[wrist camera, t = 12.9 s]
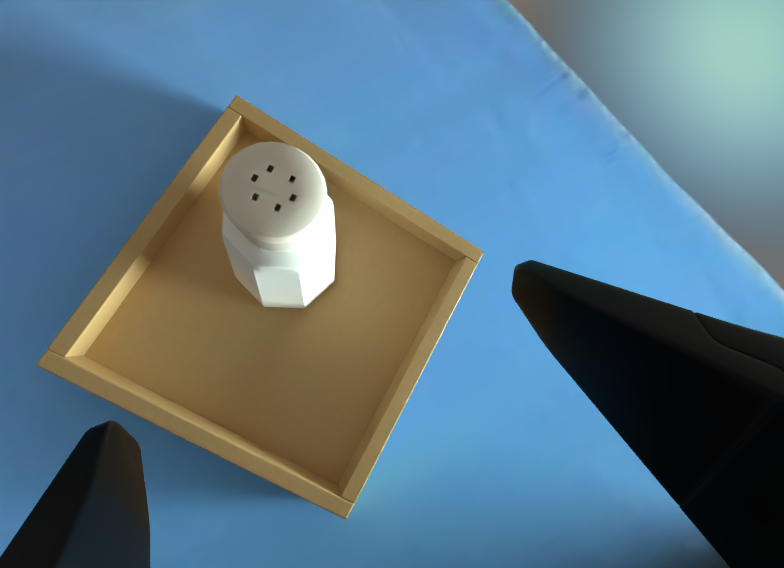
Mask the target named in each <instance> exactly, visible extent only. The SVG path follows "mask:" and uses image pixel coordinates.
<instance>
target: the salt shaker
mask: <svg viewBox="0 0 784 568" xmlns="http://www.w3.org/2000/svg"><path fill="white" fill-rule="evenodd" d="M219 196H220V201H221V206H222V208H223V210H224V211H223V223H222V236H223V241H224V244H225V247H226V250H227V253H228V256H229V259H230V262H231V265H232V268H233V271H234V274H235V277H236V278H237V279H238V280H239V281H240V282H241V283H242V284H243V285H244V286H245V288H246V289H247V290H248V291H249V292H250V293H251V294H252V295H253V296H254V297H255V298H256V299H257V300H258V301H259V302H260V303H261V305H262V306H263V307H283V308H306V307H307V306H308V305H309V304H310V303H311V302H313V301H314V300H315V299H316V298H317V297H318V296H319V295H320V294H322V293H323V292H324V291H325V290H326V289H327V288H328V287H329V286H330V285H332V284H333V283H334V277H335V254H336V237H335V220H334V206H333V202H332V200H331V198H330V197H329V196H328V195H327V188H326V183H325V179H324V176H323V174H322V172H321V171H320V169H319V167H318V165H317V164H316V163H315V162H314V161H313V160H312V159H311V157H310V156H309V155H307V154H306V153H304V152H303V151H301V150H300V149H298V148H296V147H293V146H291V145H288V144H285V143H279V142H262V143H256V144H253V145H251V146H248V147H245V148H243V149H242V150H241V151H239V152H238V153H237V154H235V155H234V156H233V157H232V158H231V159H230V161H229V162H228V163H227V164H226V166H225V167H224V170H223V172H222V175H221V177H220V183H219Z"/></svg>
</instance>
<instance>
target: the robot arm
mask: <svg viewBox="0 0 784 568" xmlns="http://www.w3.org/2000/svg"><path fill="white" fill-rule="evenodd" d="M512 295H513V298H514V300H515V301H516V303H517V304H518V306H519V307H520V309H521V310H522V312H523V313H524V315H525V316H526V318H527V319H528V321H529V322H530V324H531V325H532V327H533V328H534V330H535V331H536V333H537V334H538V336H539V337H540V339H541V340H542V341H543V343H544V344H545V346H546V347H547V348H548V350H549V351H550V352H551V353H552V355H553V356H554V357H555V358H556V359H557V361H558V362H559V363H560V364H561V365H562V367H563V368H564V369H565V370H566V371H567V373H568V374H569V375H570V376H571V377H572V379H573V380H574V381H575V382H576V383H577V385H578V386H579V387H580V388H581V389H582V391H583V392H584V393H585V394H586V395H587V396H588V398H589V399H590V400H591V401H592V402H593V404H594V405H595V406H596V407H597V408H598V410H599V411H600V412H601V413H602V414H603V416H604V417H605V418H606V419H607V420H608V422H609V423H610V424H611V425H612V426H613V428H614V429H615V430H616V431H617V432H618V434H619V435H620V436H621V437H622V438H623V440H624V441H625V442H626V443H627V444H628V446H629V447H630V448H631V449H632V450H633V452H634V453H635V454H636V455H637V456H638V458H639V459H640V460H641V461H642V462H643V463H644V465H645V466H646V467H647V468H648V469H649V471H650V472H651V473H652V474H653V475H654V477H655V478H656V479H657V480H658V481H659V483H660V484H661V485H662V486H663V487H664V489H665V490H666V491H667V492H668V493H669V495H670V496H671V497H672V498H673V499H674V501H675V502H676V503H677V504H678V505H679V507H680V508H681V509H682V511H683V512H684V513H685V514H686V515H687V517H688V518H689V519H690V520H691V521H692V523H693V524H694V525H695V526H696V527H697V528H698V530H699V531H700V532H701V533H702V534H703V536H704V537H705V538H706V539H707V540H708V542H709V543H710V544H711V545H712V546H713V548H714V549H715V550H716V551H717V552H718V554H719V555H720V556H721V557H722V558H723V560H724V561H725V562H726V563H727V564H728V566H729V567H730V568H784V338H783V337H779V336H775V335H771V334H768V333H764V332H760V331H757V330H753V329H749V328H746V327H742V326H739V325H736V324H732V323H729V322H726V321H722V320H719V319H716V318H713V317H710V316H707V315H703V314H700V313H697V312H696V313H694V312H693V311H691V310H687V309H684V308H681V307H678V306H675V305H672V304H669V303H665V302H662V301H659V300H656V299H653V298H650V297H647V296H644V295H640V294H637V293H634V292H631V291H628V290H625V289H622V288H618V287H615V286H612V285H609V284H606V283H603V282H600V281H596V280H593V279H590V278H587V277H584V276H581V275H578V274H575V273H571V272H568V271H565V270H562V269H559V268H556V267H553V266H549V265H546V264H543V263H540V262H537V261H533V260H529V261H526V262H523V263H521V264H518V265H517V266H516V267H515V269H514V275H513V283H512ZM0 568H150V524H149V513H148V505H147V497H146V489H145V481H144V473H143V465H142V457H141V450H140V446H139V444H138V442H137V441H136V440H135V439H134V438H133V437H132V436H131V435H130V434H129V433H128V432H127V431H126V430H125V429H124V428H123V427H122V426H121V425H120V424H118V423H117V422H115V421H108V422H105V423H102V424H100V425H97V426H95V427H92V428H90V429H89V430H87V431H86V432H85V434H84V435H83V437H82V438H81V439H80V441H79V442H78V444H77V445H76V447H75V448H74V450H73V451H72V453H71V454H70V456H69V457H68V459H67V460H66V461H65V463H64V464H63V466H62V467H61V469H60V470H59V472H58V473H57V475H56V476H55V478H54V479H53V481H52V482H51V484H50V485H49V486H48V488H47V489H46V491H45V492H44V494H43V495H42V497H41V498H40V500H39V501H38V503H37V504H36V506H35V507H34V508H33V510H32V511H31V513H30V514H29V516H28V517H27V519H26V520H25V522H24V523H23V525H22V526H21V528H20V529H19V531H18V532H17V533H16V535H15V536H14V538H13V539H12V541H11V542H10V544H9V545H8V547H7V548H6V550H5V551H4V553H3V554H2V555H1V557H0Z"/></svg>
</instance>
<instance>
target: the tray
mask: <svg viewBox="0 0 784 568" xmlns="http://www.w3.org/2000/svg"><path fill="white" fill-rule="evenodd" d="M262 142H279V143H285V144H288V145H291V146H293V147H296V148H298V149H300V150H301V151H303V152H304V153H306V154H307V155H309V156H310V157H311V159H312V160H313V161H314V162H315V163H316V164H317V165H318V167H319V169H320V171H321V172H322V174H323V176H324V179H325V183H326V188H327V195H328V196H329V197H330V198H331V200H332V202H333V206H334V220H335V237H336V254H335V277H334V283H333V284H332V285H330V286H329V287H328V288H327V289H326V290H325V291H324V292H323V293H322V294H320V295H319V296H318V297H317V298H316V299H315V300H314V301H313V302H311V303H310V304H309V305H308V306H307V307H306V308H283V307H263V306H262V305H261V303H260V302H259V301H258V300H257V299H256V298H255V297H254V296H253V295H252V294H251V293H250V292H249V291H248V290H247V289H246V288H245V286H244V285H243V284H242V283H241V282H240V281H239V280H238V279H237V278H236V277H235V274H234V271H233V268H232V265H231V262H230V259H229V256H228V253H227V250H226V247H225V244H224V241H223V236H222V223H223V211H224V210H223V208H222V206H221V201H220V196H219V183H220V177H221V175H222V172H223V170H224V167H225V166H226V164H227V163H228V162H229V161H230V159H231V158H232V157H233V156H234V155H235V154H237V153H238V152H239V151H241V150H242V149H243V148H245V147H248V146H251V145H253V144H256V143H262ZM482 255H483V251H482V250H480V249H479V248H477V247H476V246H474V245H472V244H471V243H469V242H468V241H466V240H465V239H463V238H461V237H460V236H458V235H457V234H455V233H454V232H452V231H450V230H449V229H447V228H446V227H444V226H442V225H441V224H439V223H438V222H436V221H435V220H433V219H431V218H430V217H428V216H427V215H425V214H424V213H422V212H420V211H419V210H417V209H416V208H414V207H412V206H411V205H409V204H408V203H406V202H405V201H403V200H401V199H400V198H398V197H397V196H395V195H394V194H392V193H390V192H389V191H387V190H386V189H384V188H383V187H381V186H379V185H378V184H376V183H375V182H373V181H371V180H370V179H368V178H367V177H365V176H364V175H362V174H360V173H359V172H357V171H356V170H354V169H353V168H351V167H349V166H348V165H346V164H345V163H343V162H341V161H340V160H338V159H337V158H335V157H334V156H332V155H330V154H329V153H327V152H326V151H324V150H323V149H321V148H319V147H318V146H316V145H315V144H313V143H311V142H310V141H308V140H307V139H305V138H304V137H302V136H300V135H299V134H297V133H296V132H294V131H293V130H291V129H289V128H288V127H286V126H285V125H283V124H282V123H280V122H278V121H277V120H275V119H274V118H272V117H270V116H269V115H267V114H266V113H264V112H263V111H261V110H259V109H258V108H256V107H255V106H253V105H252V104H250V103H248V102H247V101H245V100H244V99H242V98H240V97H239V96H237V95H236V96H235V98H234V99H233V100H232V102H231V103H230V104H229V106H228V107H227V108H226V110H225V111H224V112H223V114H222V115H221V116H220V118H219V119H218V120H217V122H216V123H215V124H214V126H213V127H212V128H211V130H210V131H209V132H208V134H207V135H206V136H205V138H204V139H203V140H202V142H201V143H200V144H199V146H198V147H197V149H196V150H195V151H194V153H193V154H192V155H191V157H190V158H189V159H188V161H187V162H186V163H185V165H184V166H183V167H182V169H181V170H180V171H179V173H178V174H177V175H176V177H175V178H174V179H173V181H172V182H171V183H170V185H169V186H168V187H167V189H166V190H165V191H164V193H163V194H162V195H161V197H160V198H159V199H158V201H157V202H156V203H155V205H154V206H153V208H152V209H151V210H150V212H149V213H148V214H147V216H146V217H145V218H144V220H143V221H142V222H141V224H140V225H139V226H138V228H137V229H136V230H135V232H134V233H133V234H132V236H131V237H130V238H129V240H128V241H127V242H126V244H125V245H124V246H123V248H122V249H121V250H120V252H119V253H118V254H117V256H116V257H115V258H114V260H113V261H112V263H111V264H110V265H109V267H108V268H107V269H106V271H105V272H104V273H103V275H102V276H101V277H100V279H99V280H98V281H97V283H96V284H95V285H94V287H93V288H92V289H91V291H90V292H89V293H88V295H87V296H86V297H85V299H84V300H83V301H82V303H81V304H80V305H79V307H78V308H77V309H76V311H75V312H74V313H73V315H72V316H71V317H70V319H69V320H68V322H67V323H66V324H65V326H64V327H63V328H62V330H61V331H60V332H59V334H58V335H57V336H56V338H55V339H54V340H53V342H52V343H51V344H50V346H49V347H48V350H47V351H46V352H45V353H44V355H43V356H42V357H41V359H40V360H39V361H38V363H37V364H36V365H37V366H38V367H40V368H42V369H44V370H46V371H48V372H50V373H52V374H54V375H56V376H58V377H60V378H62V379H64V380H66V381H68V382H70V383H72V384H74V385H76V386H78V387H80V388H82V389H84V390H87V391H89V392H91V393H93V394H95V395H97V396H99V397H101V398H103V399H105V400H107V401H109V402H111V403H113V404H115V405H117V406H119V407H121V408H123V409H125V410H127V411H129V412H131V413H133V414H135V415H137V416H139V417H141V418H143V419H145V420H147V421H149V422H151V423H153V424H155V425H157V426H159V427H161V428H163V429H165V430H167V431H169V432H171V433H173V434H175V435H177V436H179V437H181V438H183V439H185V440H187V441H189V442H191V443H193V444H195V445H197V446H199V447H201V448H203V449H205V450H207V451H209V452H211V453H213V454H215V455H217V456H219V457H221V458H223V459H225V460H227V461H229V462H231V463H233V464H235V465H237V466H239V467H241V468H243V469H245V470H247V471H249V472H251V473H253V474H255V475H257V476H259V477H261V478H263V479H265V480H267V481H269V482H271V483H273V484H275V485H277V486H279V487H281V488H283V489H285V490H287V491H289V492H291V493H293V494H295V495H297V496H299V497H301V498H303V499H305V500H307V501H309V502H311V503H313V504H315V505H317V506H319V507H321V508H323V509H325V510H327V511H329V512H331V513H333V514H335V515H337V516H339V517H341V518H344V519H347V517H348V515H349V513H350V512H351V510H352V508H353V506H354V503H355V502H356V500H357V498H358V496H359V494H360V492H361V490H362V489H363V487H364V485H365V483H366V481H367V479H368V477H369V475H370V473H371V471H372V469H373V467H374V465H375V463H376V461H377V459H378V457H379V455H380V453H381V451H382V450H383V448H384V446H385V444H386V442H387V440H388V438H389V436H390V434H391V432H392V430H393V428H394V426H395V424H396V422H397V420H398V418H399V416H400V414H401V412H402V411H403V409H404V407H405V405H406V403H407V401H408V399H409V397H410V395H411V393H412V391H413V389H414V387H415V385H416V383H417V381H418V379H419V377H420V375H421V373H422V372H423V370H424V368H425V366H426V364H427V362H428V360H429V358H430V356H431V354H432V352H433V350H434V348H435V346H436V344H437V342H438V340H439V338H440V336H441V334H442V332H443V331H444V329H445V327H446V325H447V323H448V321H449V319H450V317H451V315H452V313H453V311H454V309H455V307H456V305H457V303H458V301H459V299H460V297H461V295H462V293H463V292H464V290H465V288H466V286H467V284H468V282H469V280H470V278H471V276H472V274H473V272H474V270H475V268H476V266H477V263H478V262H479V260H480V258H481V256H482Z"/></svg>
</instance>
